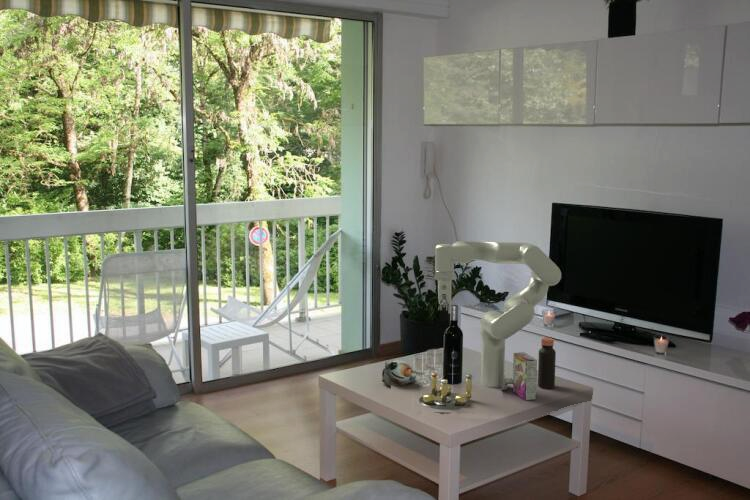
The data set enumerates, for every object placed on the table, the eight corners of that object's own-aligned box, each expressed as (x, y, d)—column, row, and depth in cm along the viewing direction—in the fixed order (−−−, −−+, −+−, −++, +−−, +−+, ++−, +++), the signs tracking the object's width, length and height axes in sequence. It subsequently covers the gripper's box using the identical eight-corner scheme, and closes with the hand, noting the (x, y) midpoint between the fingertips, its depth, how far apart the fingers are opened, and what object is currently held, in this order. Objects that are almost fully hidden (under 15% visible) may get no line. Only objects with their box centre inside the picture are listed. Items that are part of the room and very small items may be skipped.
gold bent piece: (463, 406, 292) (463, 381, 291) (452, 403, 295) (453, 379, 294) (475, 399, 300) (475, 375, 299) (465, 397, 303) (465, 373, 301)
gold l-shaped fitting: (421, 403, 296) (421, 379, 294) (425, 399, 300) (425, 376, 298) (445, 406, 292) (445, 382, 291) (448, 403, 296) (449, 378, 295)
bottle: (557, 386, 321) (559, 339, 318) (548, 390, 316) (549, 342, 314) (543, 382, 326) (545, 336, 323) (534, 386, 321) (535, 339, 318)
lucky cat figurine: (419, 381, 329) (424, 357, 321) (408, 399, 320) (413, 375, 311) (387, 368, 333) (391, 344, 325) (375, 386, 324) (379, 362, 315)
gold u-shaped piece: (445, 391, 310) (445, 368, 308) (453, 394, 306) (453, 370, 305) (427, 396, 304) (428, 372, 302) (435, 399, 300) (435, 375, 299)
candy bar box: (512, 392, 314) (512, 352, 312) (523, 391, 315) (524, 351, 313) (525, 401, 303) (526, 360, 301) (536, 399, 305) (537, 359, 302)
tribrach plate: (470, 396, 309) (471, 389, 308) (471, 414, 289) (471, 406, 289) (420, 395, 311) (420, 388, 310) (417, 412, 291) (417, 405, 291)
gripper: (453, 279, 301) (453, 322, 304) (454, 271, 318) (453, 312, 321) (434, 278, 302) (433, 322, 304) (435, 271, 319) (435, 312, 321)
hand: (444, 317), depth 312 cm, fingers open, 9 cm apart
